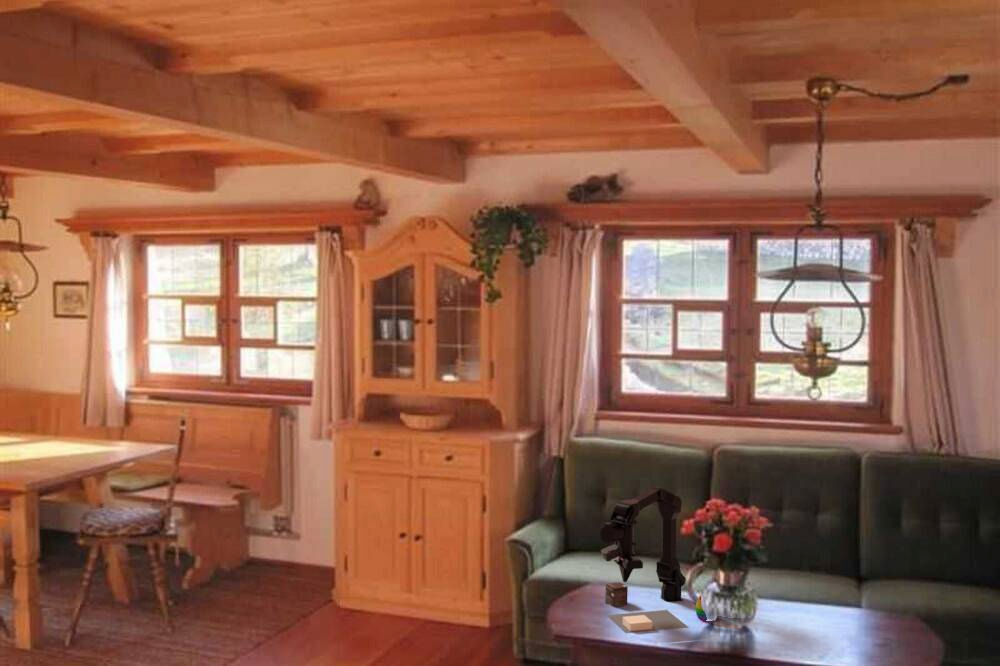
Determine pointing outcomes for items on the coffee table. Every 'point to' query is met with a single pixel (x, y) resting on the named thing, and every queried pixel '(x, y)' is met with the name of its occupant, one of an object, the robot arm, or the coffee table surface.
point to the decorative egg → (700, 610)
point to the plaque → (637, 622)
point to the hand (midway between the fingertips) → (624, 581)
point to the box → (616, 594)
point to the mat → (658, 618)
